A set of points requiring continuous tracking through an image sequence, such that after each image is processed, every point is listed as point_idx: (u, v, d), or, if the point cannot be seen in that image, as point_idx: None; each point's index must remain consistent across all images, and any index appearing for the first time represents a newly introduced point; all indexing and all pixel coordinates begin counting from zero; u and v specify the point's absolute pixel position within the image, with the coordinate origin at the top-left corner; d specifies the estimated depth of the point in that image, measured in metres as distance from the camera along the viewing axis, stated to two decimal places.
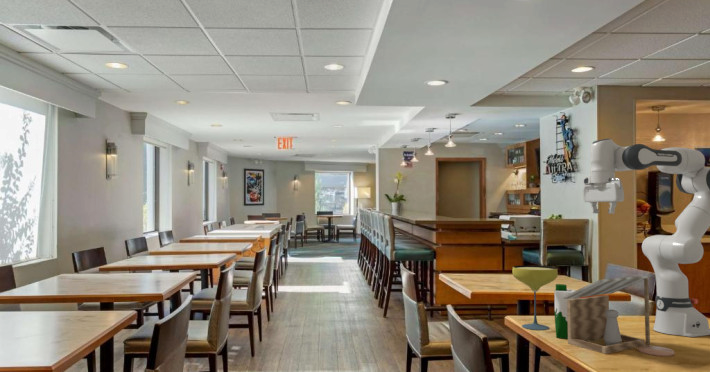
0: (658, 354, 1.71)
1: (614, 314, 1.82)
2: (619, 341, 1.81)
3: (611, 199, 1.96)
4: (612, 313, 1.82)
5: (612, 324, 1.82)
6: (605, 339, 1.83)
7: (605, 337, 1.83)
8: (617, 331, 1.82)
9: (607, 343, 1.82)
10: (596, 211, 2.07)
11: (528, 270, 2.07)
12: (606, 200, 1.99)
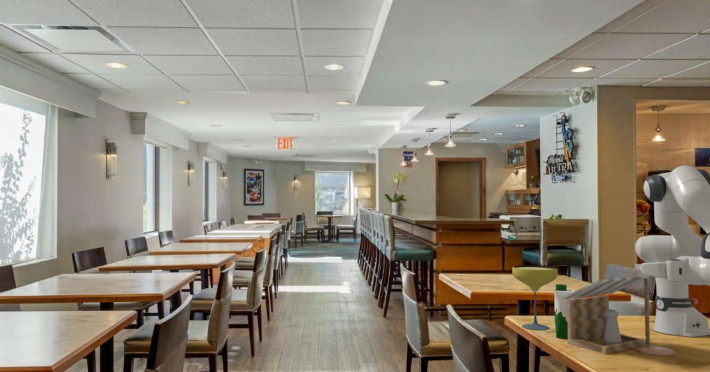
0: (658, 354, 1.71)
1: (614, 314, 1.82)
2: (619, 341, 1.81)
3: None
4: (612, 313, 1.82)
5: (612, 324, 1.82)
6: (605, 339, 1.83)
7: (605, 337, 1.83)
8: (617, 331, 1.82)
9: (607, 343, 1.82)
10: None
11: (528, 270, 2.07)
12: None
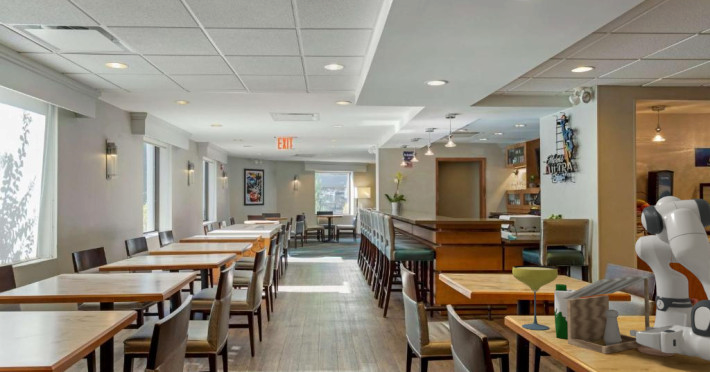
0: (658, 354, 1.71)
1: (614, 314, 1.82)
2: (619, 341, 1.81)
3: None
4: (612, 313, 1.82)
5: (612, 324, 1.82)
6: (605, 339, 1.83)
7: (605, 337, 1.83)
8: (617, 331, 1.82)
9: (607, 343, 1.82)
10: None
11: (528, 270, 2.07)
12: None
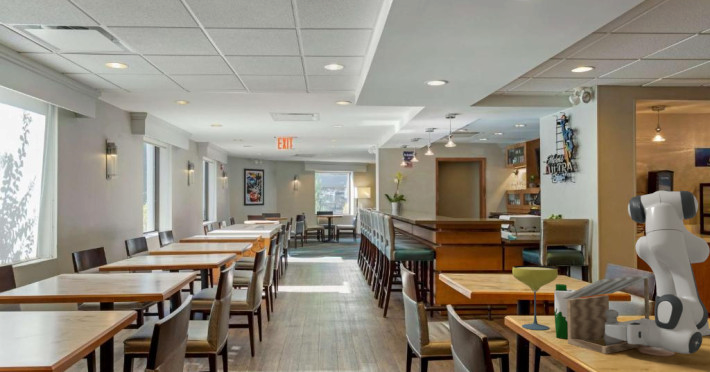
0: (658, 354, 1.71)
1: (614, 314, 1.82)
2: (619, 341, 1.81)
3: None
4: (612, 312, 1.82)
5: None
6: (605, 339, 1.83)
7: (605, 337, 1.83)
8: None
9: (607, 343, 1.82)
10: None
11: (528, 270, 2.07)
12: None
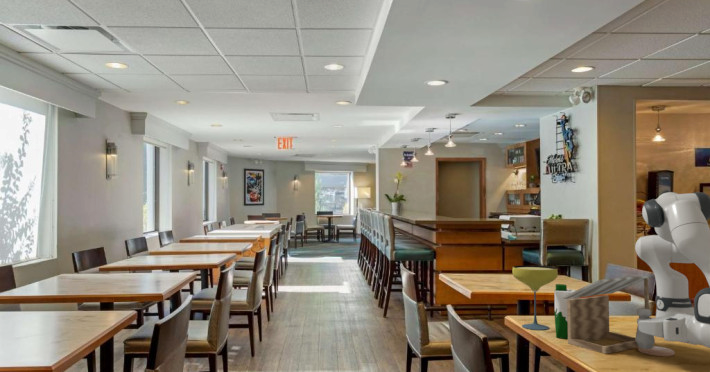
0: (658, 354, 1.71)
1: (647, 313, 1.71)
2: (653, 342, 1.70)
3: None
4: (645, 311, 1.71)
5: None
6: (637, 340, 1.72)
7: (637, 337, 1.72)
8: None
9: (640, 344, 1.72)
10: None
11: (528, 270, 2.07)
12: None
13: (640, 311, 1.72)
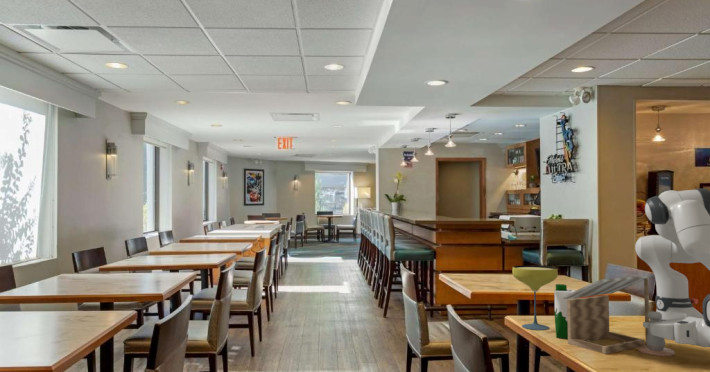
0: (658, 354, 1.71)
1: (658, 316, 1.75)
2: (663, 344, 1.74)
3: None
4: (655, 314, 1.75)
5: None
6: (648, 342, 1.76)
7: (648, 340, 1.76)
8: None
9: (650, 346, 1.75)
10: None
11: (528, 270, 2.07)
12: None
13: (651, 314, 1.76)
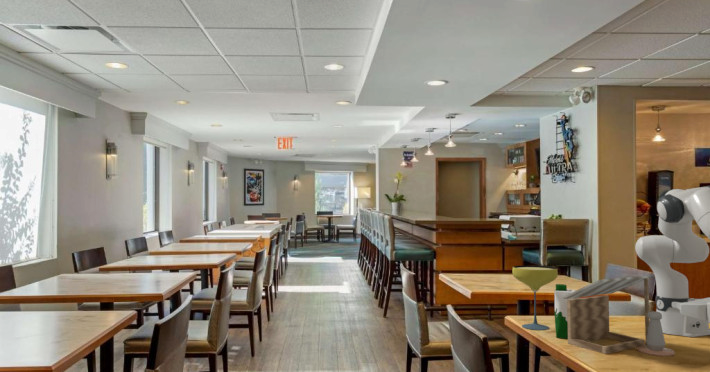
0: (658, 354, 1.71)
1: (658, 316, 1.75)
2: (663, 344, 1.74)
3: None
4: (655, 314, 1.75)
5: (656, 326, 1.75)
6: (648, 342, 1.76)
7: (648, 340, 1.76)
8: (661, 334, 1.74)
9: (650, 346, 1.75)
10: None
11: (528, 270, 2.07)
12: None
13: (651, 314, 1.76)
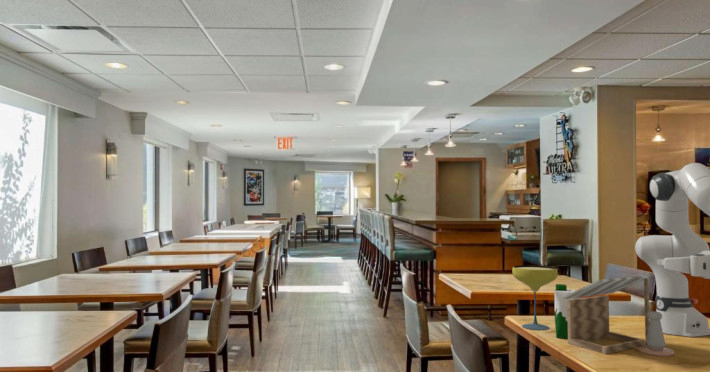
0: (658, 354, 1.71)
1: (658, 316, 1.75)
2: (663, 344, 1.74)
3: None
4: (655, 314, 1.75)
5: (656, 326, 1.75)
6: (648, 342, 1.76)
7: (648, 340, 1.76)
8: (661, 334, 1.74)
9: (650, 346, 1.75)
10: None
11: (528, 270, 2.07)
12: None
13: (651, 314, 1.76)
